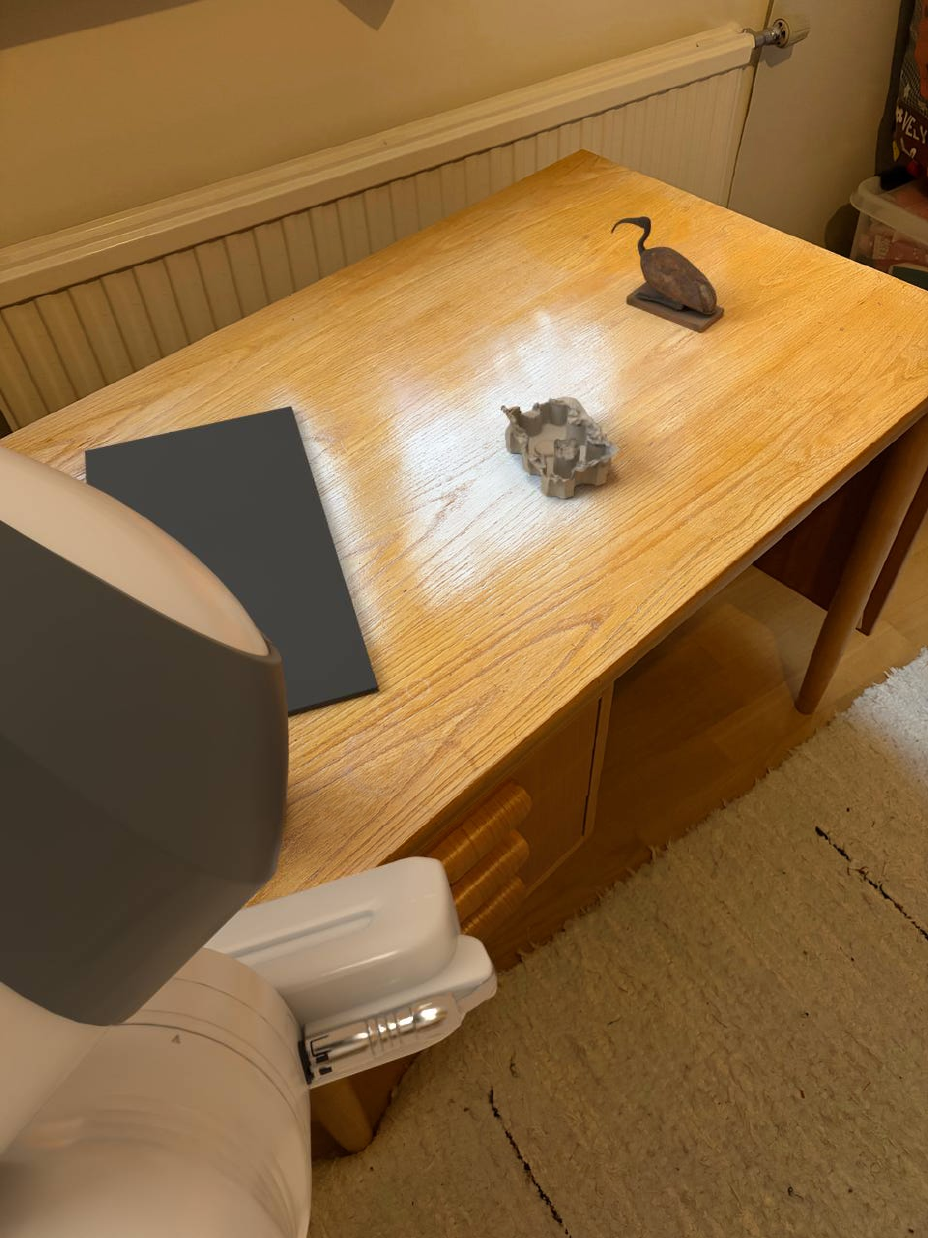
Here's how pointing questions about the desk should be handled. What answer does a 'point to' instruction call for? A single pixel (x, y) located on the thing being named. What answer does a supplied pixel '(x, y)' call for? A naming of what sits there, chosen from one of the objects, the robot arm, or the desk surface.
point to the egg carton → (560, 445)
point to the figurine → (672, 285)
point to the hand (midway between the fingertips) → (200, 920)
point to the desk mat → (252, 538)
